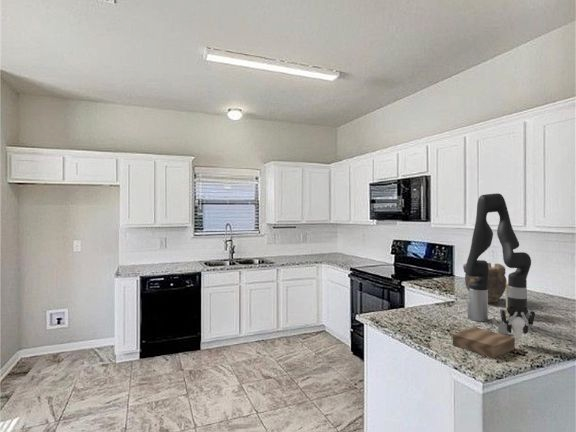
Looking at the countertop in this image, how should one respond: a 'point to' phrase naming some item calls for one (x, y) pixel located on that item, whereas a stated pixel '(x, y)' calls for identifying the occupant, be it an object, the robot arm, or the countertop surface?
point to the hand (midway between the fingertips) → (517, 332)
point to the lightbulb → (517, 326)
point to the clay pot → (491, 281)
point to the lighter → (500, 327)
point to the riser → (484, 342)
